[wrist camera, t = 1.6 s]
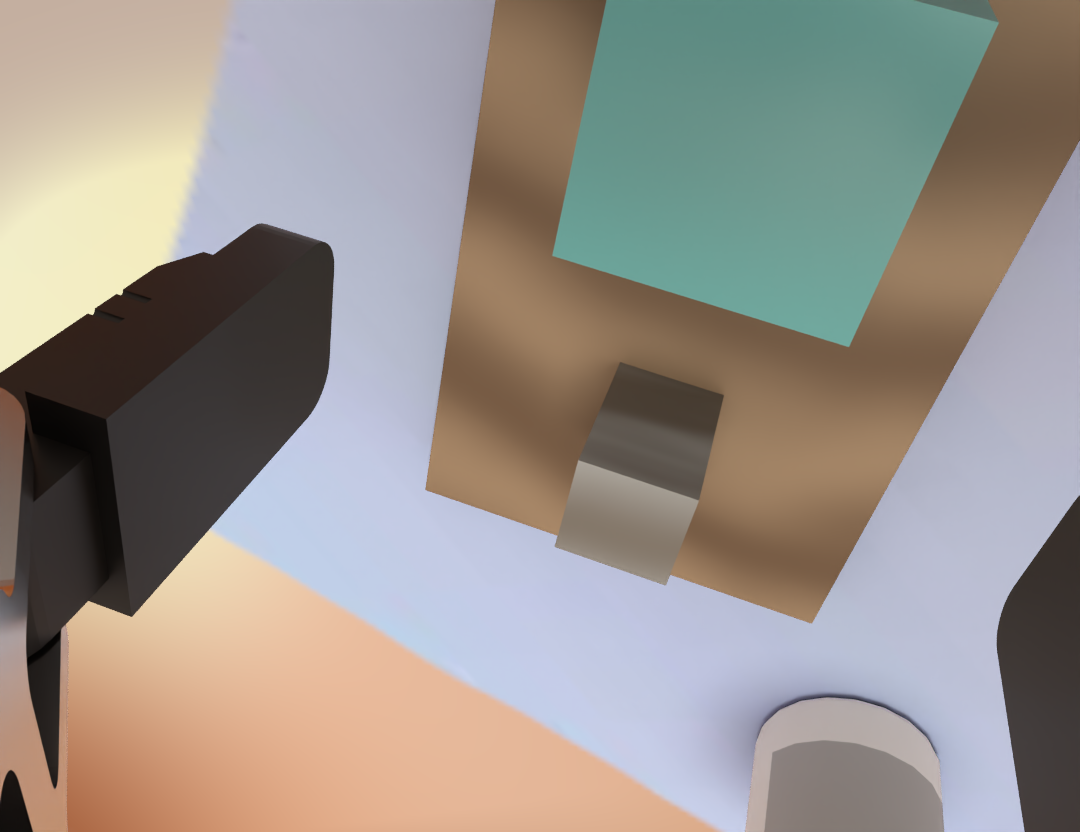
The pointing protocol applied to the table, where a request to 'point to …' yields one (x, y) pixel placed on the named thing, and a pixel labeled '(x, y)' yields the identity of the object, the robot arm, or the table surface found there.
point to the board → (717, 334)
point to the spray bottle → (843, 771)
